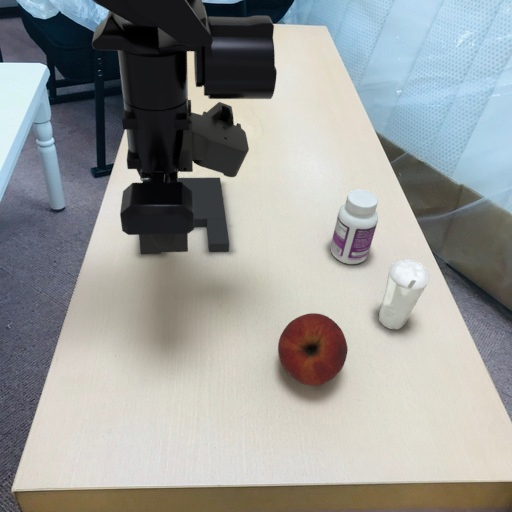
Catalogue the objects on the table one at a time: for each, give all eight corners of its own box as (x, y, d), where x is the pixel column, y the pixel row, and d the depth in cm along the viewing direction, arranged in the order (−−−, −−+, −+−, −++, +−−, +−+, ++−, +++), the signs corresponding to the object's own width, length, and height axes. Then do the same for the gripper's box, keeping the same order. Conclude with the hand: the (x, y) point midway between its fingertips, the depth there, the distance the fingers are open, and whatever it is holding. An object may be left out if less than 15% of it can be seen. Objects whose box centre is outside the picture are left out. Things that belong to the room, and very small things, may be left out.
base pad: (140, 254, 69) (139, 245, 68) (144, 185, 80) (143, 177, 79) (228, 251, 71) (229, 243, 70) (219, 185, 82) (220, 177, 81)
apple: (260, 375, 56) (267, 328, 51) (296, 331, 61) (306, 285, 56) (319, 411, 53) (332, 367, 48) (351, 362, 58) (367, 317, 53)
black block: (140, 253, 54) (138, 231, 52) (142, 223, 58) (140, 202, 56) (187, 252, 55) (187, 230, 53) (187, 223, 59) (186, 202, 57)
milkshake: (371, 334, 62) (392, 275, 55) (374, 302, 66) (394, 244, 59) (409, 343, 61) (435, 285, 54) (409, 310, 65) (434, 253, 58)
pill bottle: (369, 245, 74) (386, 191, 68) (364, 269, 70) (381, 214, 64) (333, 236, 75) (346, 182, 68) (326, 259, 71) (339, 204, 65)
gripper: (257, 152, 40) (245, 289, 50) (236, 57, 53) (230, 181, 64) (110, 151, 38) (129, 293, 49) (127, 54, 52) (139, 181, 62)
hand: (164, 230), depth 56 cm, fingers closed on black block, 5 cm apart
